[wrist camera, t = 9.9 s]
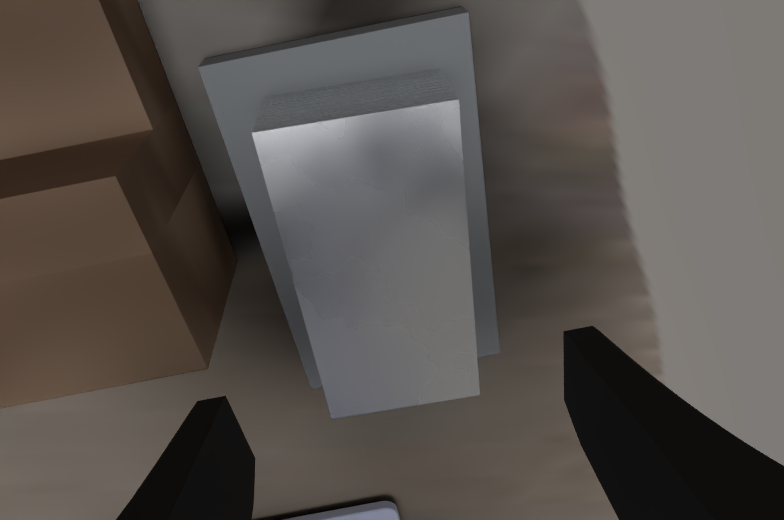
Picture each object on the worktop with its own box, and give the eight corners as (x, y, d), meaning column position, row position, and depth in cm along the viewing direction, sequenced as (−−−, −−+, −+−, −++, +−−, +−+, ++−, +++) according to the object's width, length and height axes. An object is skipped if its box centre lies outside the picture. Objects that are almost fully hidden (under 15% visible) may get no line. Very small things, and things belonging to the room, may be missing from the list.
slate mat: (494, 337, 18) (500, 353, 18) (312, 371, 18) (311, 389, 18) (461, 6, 13) (468, 12, 12) (204, 58, 13) (197, 67, 12)
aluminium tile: (462, 337, 17) (480, 395, 15) (332, 357, 17) (331, 419, 15) (438, 68, 13) (458, 99, 11) (264, 96, 13) (251, 132, 11)
